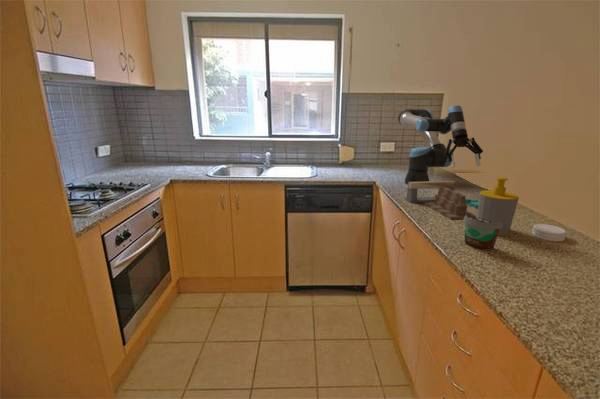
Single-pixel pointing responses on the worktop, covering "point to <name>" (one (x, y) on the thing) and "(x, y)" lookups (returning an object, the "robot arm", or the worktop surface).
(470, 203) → the alien figure
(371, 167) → the worktop surface
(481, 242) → the food container
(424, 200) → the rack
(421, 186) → the birch bar
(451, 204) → the fulcrum
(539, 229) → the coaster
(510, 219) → the soap bottle
